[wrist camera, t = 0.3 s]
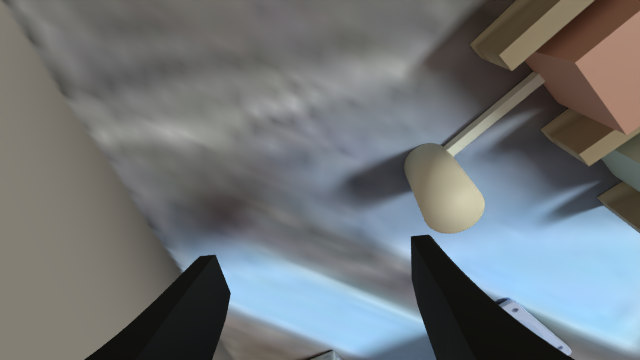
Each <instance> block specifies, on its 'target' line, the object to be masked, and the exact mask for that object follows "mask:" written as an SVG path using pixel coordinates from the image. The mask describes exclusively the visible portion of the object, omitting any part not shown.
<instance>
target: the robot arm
mask: <svg viewBox="0 0 640 360" xmlns="http://www.w3.org/2000/svg"><path fill="white" fill-rule="evenodd" d="M411 267H412V282H413V287H414V291H415V295H416V300H417V304H418V307H419V310H420V313H421V316H422V319H423V322H424V325H425V328H426V331H427V333H428V336H429V339H430V342H431V345H432V348H433V351H434V353H435V356H436V359H437V360H574V359H573V358H571V357H569V356H568V355H570V354H571V352H572V351H571V349H570V348H569V346H567V345H566V344H565V343H564V342H563V341H561V340H560V339H559V338H558V337H557V336H556V335H554V334H553V333H552V332H551V331H550V330H549V329H547V328H546V327H545V326H544V325H543V324H542V323H540V322H539V321H538V320H537V319H536V318H535V317H533V316H532V315H531V314H530V313H529V312H528V311H526V310H525V309H524V308H523V307H522V306H521V305H519V304H518V303H517V302H516V301H514V300H507V301H505V302H503V303H501V304H499V305H498V304H497V303H496V302H495V301H493V300H492V299H491V298H490V297H489V296H488V295H487V294H485V293H484V292H483V291H482V290H481V289H480V288H479V287H478V286H477V285H476V284H475V283H474V282H473V281H472V280H471V279H470V278H469V277H468V276H467V275H466V274H465V273H464V272H463V271H462V270H461V269H460V268H459V267H458V266H457V265H456V264H455V263H454V262H453V261H452V260H451V259H450V258H449V257H448V256H447V254H446V253H445V252H444V251H443V250H442V249H441V248H440V246H439V245H438V244H437V243H436V242H435V241H434V239H433V238H432V237H431V236H430V235H420V236H411ZM230 294H231V293H230V290H229V288H228V285H227V283H226V280H225V278H224V275H223V273H222V270H221V268H220V265H219V262H218V260H217V257H216V255H208V256H200V257H199V258H198V259H196V260H195V261H194V262H193V263H192V264H191V265H190V266H189V267H188V268H187V269H186V270H185V271H184V272H183V273H182V274H181V275H180V276H179V277H178V278H177V279H176V280H175V282H173V283H172V285H170V286H169V287H168V288H167V289H166V290H165V291H164V292H163V294H161V295H160V296H159V297H158V298H157V299H156V300H155V301H154V302H153V303H152V304H151V305H150V306H149V307H148V308H146V309H145V310H144V311H143V312H142V313H141V314H140V315H139V316H138V317H137V318H136V319H135V320H133V321H132V322H131V323H130V324H129V325H128V326H127V327H126V328H124V329H123V330H122V331H121V332H119V333H118V334H117V335H116V336H115V337H113V338H112V339H111V340H110V341H108V342H107V343H106V344H105V345H103V346H102V347H101V348H100V349H98V350H97V351H96V352H94V353H93V354H92V355H90V356H89V357H87V358H86V359H85V360H212V358H213V355H214V352H215V350H216V346H217V344H218V341H219V338H220V335H221V332H222V329H223V326H224V323H225V319H226V315H227V310H228V305H229V300H230Z"/></svg>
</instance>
